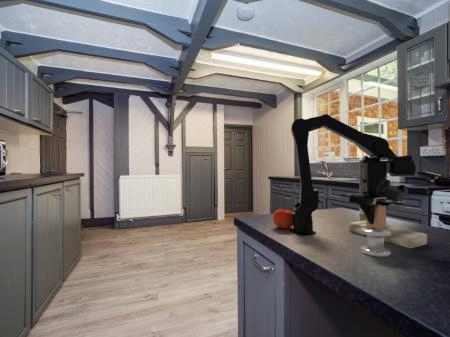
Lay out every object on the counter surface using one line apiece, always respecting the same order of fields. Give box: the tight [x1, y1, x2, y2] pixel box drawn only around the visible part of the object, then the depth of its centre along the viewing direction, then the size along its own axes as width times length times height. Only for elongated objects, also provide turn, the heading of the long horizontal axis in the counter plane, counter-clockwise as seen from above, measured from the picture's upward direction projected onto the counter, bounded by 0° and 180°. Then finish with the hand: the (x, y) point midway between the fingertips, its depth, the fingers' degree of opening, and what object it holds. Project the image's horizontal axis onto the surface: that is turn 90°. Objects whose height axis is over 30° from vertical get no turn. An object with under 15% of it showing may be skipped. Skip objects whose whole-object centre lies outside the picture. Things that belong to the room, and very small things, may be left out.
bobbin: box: [360, 227, 392, 258], centre depth 67 cm, size 7×7×6 cm
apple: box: [272, 206, 294, 230], centre depth 94 cm, size 8×8×8 cm
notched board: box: [348, 220, 428, 249], centre depth 81 cm, size 20×8×3 cm, turn 24°
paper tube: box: [358, 162, 366, 221], centre depth 98 cm, size 7×7×25 cm
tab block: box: [366, 205, 387, 229], centre depth 82 cm, size 4×4×8 cm
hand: (375, 223), depth 82 cm, fingers closed on tab block, 4 cm apart
